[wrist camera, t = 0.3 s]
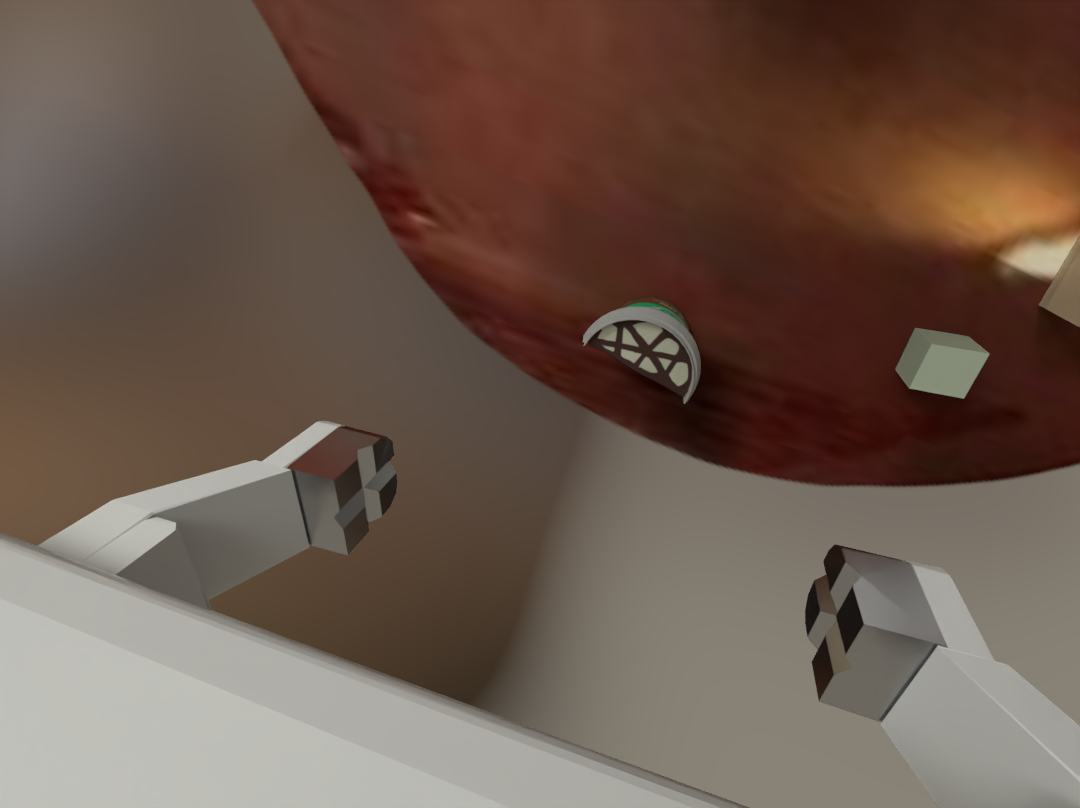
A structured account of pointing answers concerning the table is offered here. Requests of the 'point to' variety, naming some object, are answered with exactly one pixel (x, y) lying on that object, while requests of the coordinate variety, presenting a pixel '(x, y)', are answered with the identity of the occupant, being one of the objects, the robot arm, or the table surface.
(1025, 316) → the table surface
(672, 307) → the food container
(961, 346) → the cube
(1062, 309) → the box
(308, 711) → the robot arm
